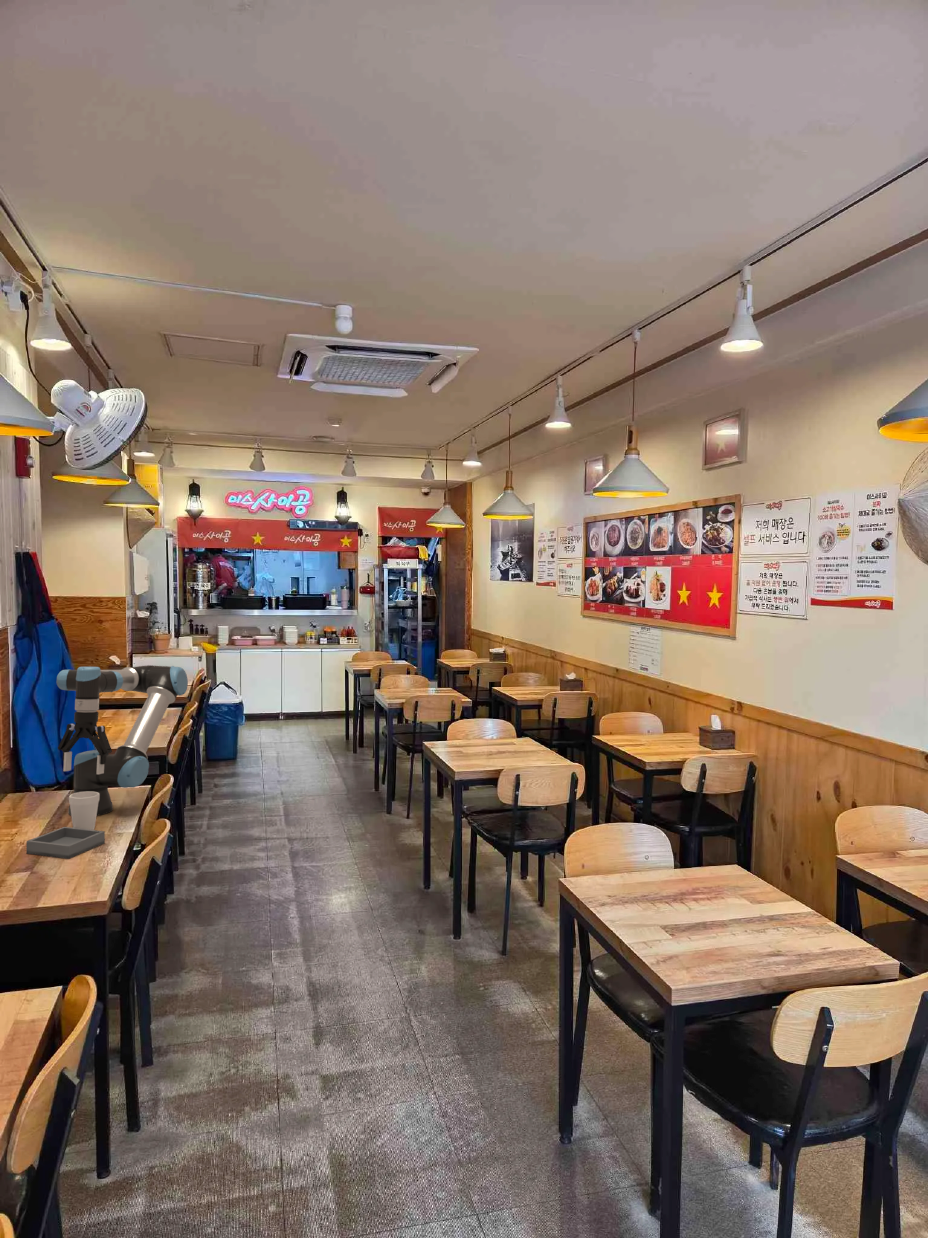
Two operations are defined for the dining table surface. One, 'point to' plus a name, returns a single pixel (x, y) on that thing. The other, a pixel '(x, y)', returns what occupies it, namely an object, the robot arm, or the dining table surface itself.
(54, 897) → the dining table surface
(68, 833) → the tray
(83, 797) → the foam cup
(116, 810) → the dining table surface
